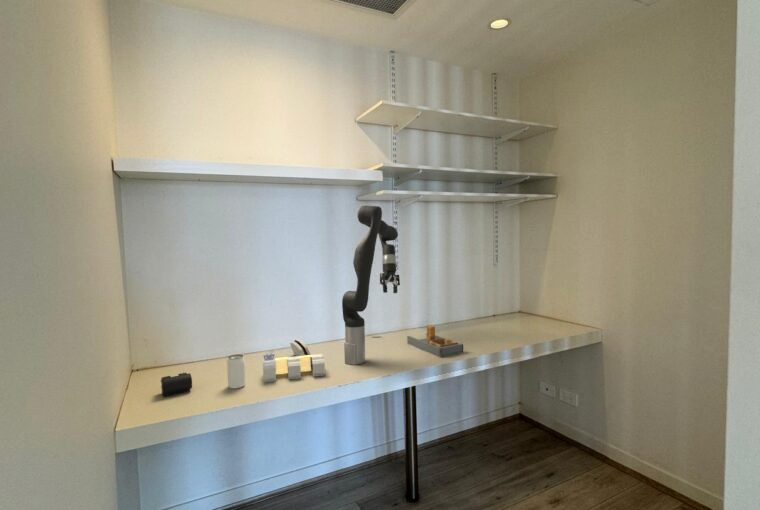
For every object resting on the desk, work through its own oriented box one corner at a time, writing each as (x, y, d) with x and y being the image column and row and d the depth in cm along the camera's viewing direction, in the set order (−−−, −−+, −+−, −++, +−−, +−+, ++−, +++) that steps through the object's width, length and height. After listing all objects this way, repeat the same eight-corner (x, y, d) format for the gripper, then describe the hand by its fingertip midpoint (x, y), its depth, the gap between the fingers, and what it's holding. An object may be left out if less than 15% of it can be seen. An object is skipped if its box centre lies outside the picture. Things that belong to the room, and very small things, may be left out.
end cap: (163, 399, 145) (162, 381, 145) (160, 393, 151) (159, 376, 150) (192, 392, 151) (191, 375, 151) (188, 387, 157) (188, 370, 156)
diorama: (263, 383, 159) (262, 352, 159) (263, 375, 169) (262, 345, 168) (324, 376, 166) (324, 346, 165) (321, 369, 176) (321, 340, 175)
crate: (457, 350, 195) (457, 330, 195) (440, 353, 190) (440, 333, 190) (437, 342, 210) (437, 324, 210) (421, 345, 205) (421, 326, 205)
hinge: (315, 360, 187) (308, 342, 184) (306, 365, 184) (299, 347, 182) (303, 352, 201) (296, 335, 199) (295, 357, 199) (288, 339, 196)
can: (224, 387, 155) (223, 357, 155) (238, 382, 161) (237, 353, 160) (234, 390, 152) (233, 359, 151) (248, 385, 157) (247, 355, 157)
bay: (463, 352, 194) (463, 344, 194) (440, 357, 188) (440, 348, 187) (428, 339, 221) (428, 331, 220) (407, 343, 214) (407, 335, 214)
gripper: (386, 261, 208) (387, 291, 205) (402, 263, 219) (403, 292, 216) (375, 263, 213) (376, 293, 210) (392, 265, 224) (393, 293, 221)
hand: (390, 292), depth 213 cm, fingers open, 8 cm apart
